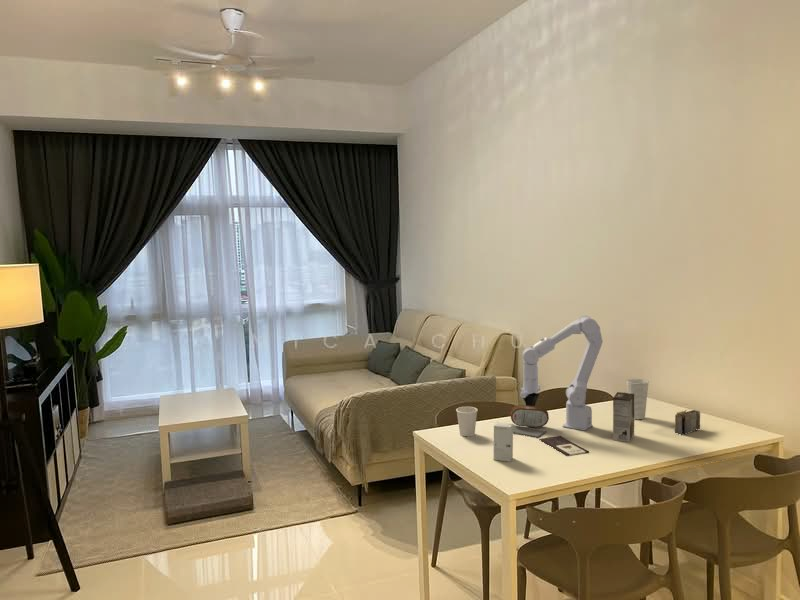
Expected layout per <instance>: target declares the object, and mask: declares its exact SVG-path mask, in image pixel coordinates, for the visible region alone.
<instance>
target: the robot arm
mask: <svg viewBox="0 0 800 600" xmlns="http://www.w3.org/2000/svg"><path fill="white" fill-rule="evenodd" d="M582 334H583V335H584V336H585V338H586V340H587V342H588V343H587V345H586V348H585V350H584V353H583V354H582V355H583V356H582V357H581V361H580V363H579V366H578V369H577V372H576V374H575V376H574V379H572V381H571V383H570V385H569V386H568V387H567V388H566V389H565V396H566V398H567V401H566V402H565V403H566V404H565V407H566V409H565V413H566V417H565V418H566V419H565V423H564V424H562V427H563V428H568V429H574V430H581V431H587V430H589V428H591V427H592V426H593V422H592V421H593V416H592V415H593V411H592V409H593V408H592V407H591V406H589V405H587V404H586V399H587V395H586V394H587V390H588V382H589V381H590V380H589V379H590V377H591V374H592V372H593V369H594V367H595V364H596V362H597V358H598V356H599V353H600V350H601V348H602V345H603V336H602V332H601V327H600V325H599V323H598V322H597V321H596V320H595V319H593V318H592V317H590V316H588V315H582V316H581V317H579V318H578V319H575V320H573V321H572V322H571V323H569V324H567V325H566V326H565V327H563V328H562V329H561V330H559V331H558V332H556V333H555V334H554V335H552V336H551V337H549V336H548V337H547V336H546V337H541V338H540V339H539V341H537V342H536V343H535V344H531V345H530V346H529V347H527V348H525V349H524V350H522V351H523V352H522V354H521V358H522V359H523V363H522V364H523V365H522V366H523V367H522V378H523V379H522V384H523V385H522V386H523V387H520V391H521V392H520V393H519V397H520V398H522V399H523V400H524V403H525V405H527V406H536V404H537V401H538V398H539V396H540V394H539V393H538V392H539V391H541V385H539V383H538V382H539V381H538V378H539V377H538V376H539V369H538V363H539V362H538V361H539V360H540V358H541V359H542V358H543V357H545V355H548V354H549V353H550V352H552V351H554V350H555V347H556V344H559V343H560V342H562V341H563V340H565V339H567V338H569V337H570V336H572V335H582Z"/></svg>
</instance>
